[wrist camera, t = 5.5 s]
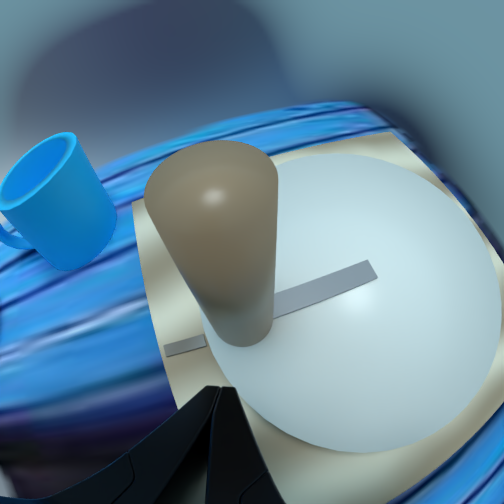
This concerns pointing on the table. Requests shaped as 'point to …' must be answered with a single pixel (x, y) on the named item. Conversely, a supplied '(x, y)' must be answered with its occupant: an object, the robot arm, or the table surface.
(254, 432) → the dial board
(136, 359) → the table surface
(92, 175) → the mug
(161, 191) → the dial
